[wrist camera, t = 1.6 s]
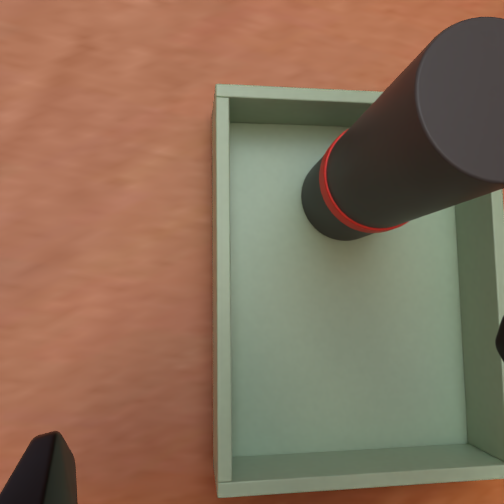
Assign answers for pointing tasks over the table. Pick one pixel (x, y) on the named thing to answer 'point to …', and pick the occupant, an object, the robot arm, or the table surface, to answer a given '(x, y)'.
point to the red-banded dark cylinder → (418, 140)
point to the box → (344, 318)
